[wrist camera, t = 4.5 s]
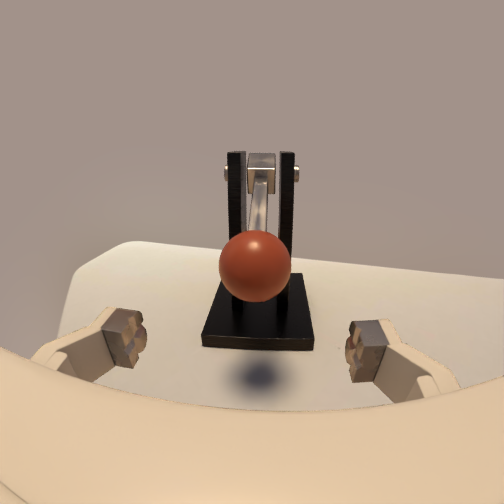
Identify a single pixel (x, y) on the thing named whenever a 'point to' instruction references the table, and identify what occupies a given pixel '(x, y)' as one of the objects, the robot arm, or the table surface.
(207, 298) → the table surface
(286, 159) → the bracket
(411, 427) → the robot arm
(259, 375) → the table surface
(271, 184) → the faucet lever
